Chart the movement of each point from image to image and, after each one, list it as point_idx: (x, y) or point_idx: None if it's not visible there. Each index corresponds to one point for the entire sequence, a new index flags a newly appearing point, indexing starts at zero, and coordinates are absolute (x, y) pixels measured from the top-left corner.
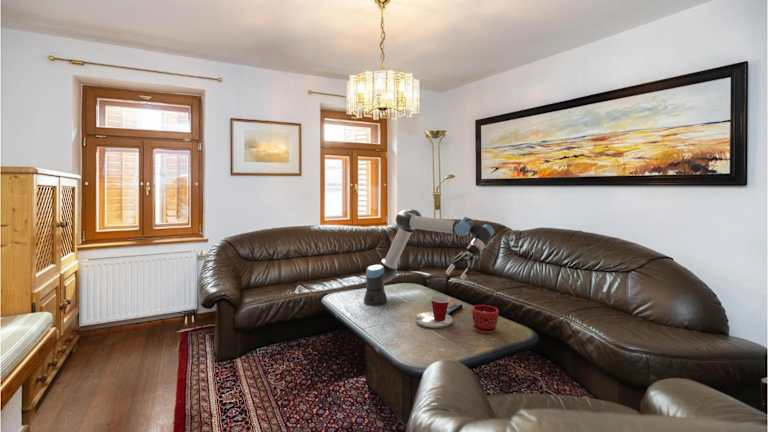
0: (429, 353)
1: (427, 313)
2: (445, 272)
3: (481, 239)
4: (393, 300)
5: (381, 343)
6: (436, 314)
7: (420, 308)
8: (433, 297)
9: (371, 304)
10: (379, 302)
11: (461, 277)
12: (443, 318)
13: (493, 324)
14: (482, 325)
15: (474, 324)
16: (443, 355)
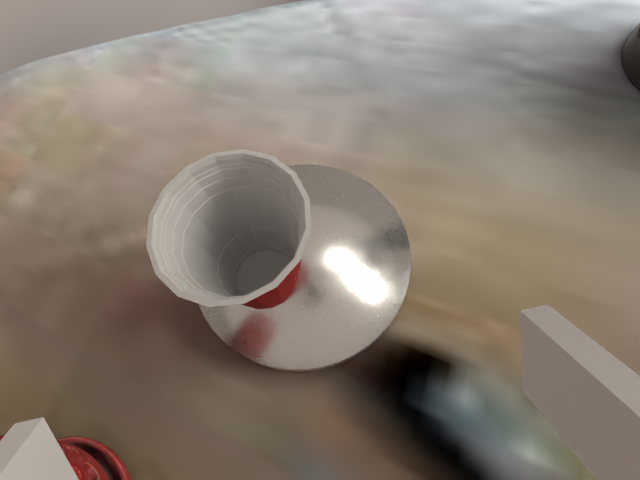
0: (22, 147)
1: (382, 244)
2: (546, 313)
3: None
4: None
5: (176, 32)
6: (232, 232)
7: (560, 268)
8: (296, 193)
9: (627, 40)
10: (637, 63)
11: (10, 445)
12: (227, 283)
13: None
14: None
15: (122, 474)
16: None
